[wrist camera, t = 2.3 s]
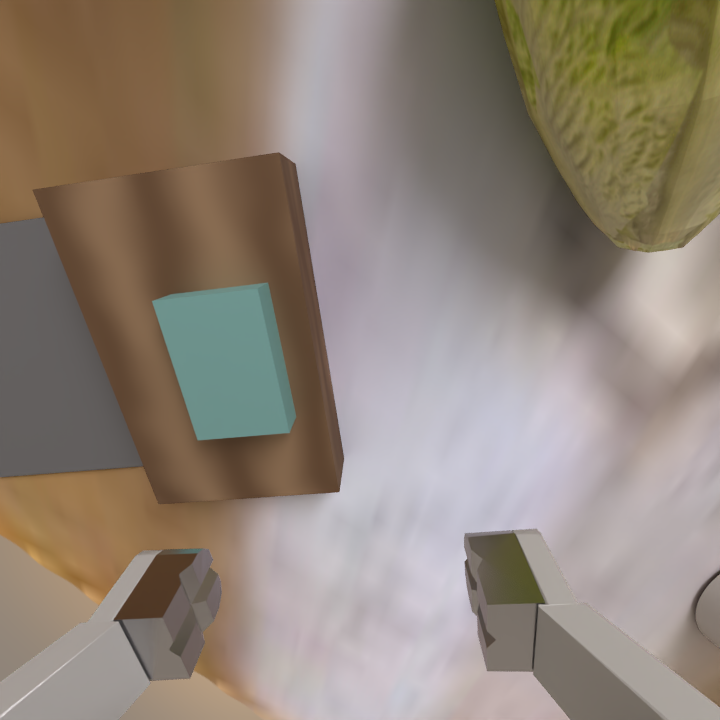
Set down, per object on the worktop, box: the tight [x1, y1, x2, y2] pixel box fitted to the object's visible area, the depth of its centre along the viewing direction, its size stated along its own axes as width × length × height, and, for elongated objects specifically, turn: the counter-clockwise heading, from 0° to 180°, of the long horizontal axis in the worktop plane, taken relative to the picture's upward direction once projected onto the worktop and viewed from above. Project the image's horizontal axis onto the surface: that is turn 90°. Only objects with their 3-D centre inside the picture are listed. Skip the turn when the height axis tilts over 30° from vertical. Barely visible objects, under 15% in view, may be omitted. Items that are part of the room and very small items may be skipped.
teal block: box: [152, 283, 296, 440], centre depth 22 cm, size 6×9×2 cm, turn 7°
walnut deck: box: [33, 153, 344, 504], centre depth 25 cm, size 14×22×4 cm, turn 7°
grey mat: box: [0, 218, 143, 477], centre depth 28 cm, size 16×20×1 cm
